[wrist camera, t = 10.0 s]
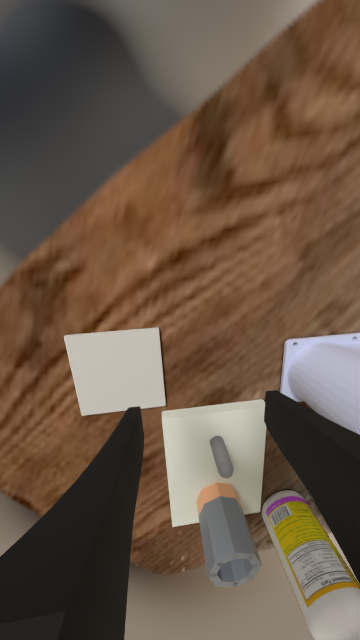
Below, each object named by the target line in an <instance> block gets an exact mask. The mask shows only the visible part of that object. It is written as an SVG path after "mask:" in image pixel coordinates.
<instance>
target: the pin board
mask: <svg viewBox="0 0 360 640" xmlns="http://www.w3.org/2000/svg"><path fill="white" fill-rule="evenodd" d="M264 412H265V402H264V401H263V400H262V399H261V400H252V401H244V402H236V403H227V404H219V405H211V406H202V407H194V408H186V409H177V410H169V411H162V424H163V435H164V445H165V455H166V465H167V475H168V486H169V496H170V506H171V516H172V526H173V527H175V526H181V525H187V524H193V523H199V517H198V510H197V504H196V501H197V499H198V496H199V494H200V492H201V489H203V488H205V487H207V486H210V485H212V484H214V483H216V482H219V483H226V484H231V485H232V486H233V488H234V489H235V491H236V493H237V494H238V497H239V500H240V503H241V506H242V509H243V512H244V515H245V514H251V513H257V512H260V507H261V493H262V480H263V466H264V453H265V439H266V424H265V422H264Z"/></svg>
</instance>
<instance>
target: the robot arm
mask: <svg viewBox="0 0 360 640" xmlns="http://www.w3.org/2000/svg"><path fill="white" fill-rule="evenodd" d="M352 338H353V339H352ZM294 342H295V344H294V345H293V343H294ZM302 401H304V402H305V403H306V404H307V405H309V406H310V407H311V408H312V409H313V410H314V411H315V412H314V411H312V410H311V409H309V408H307V407H305V406H304V405H302V404H300V403H298V402H302ZM264 422H265V424H266V426H267V428H268V430H269V432H270V434H271V436H272V437H273V439H274V441H275V442H276V444H277V445H278V447H279V448H280V450H281V451H282V453H283V454H284V456H285V457H286V459H287V460H288V462H289V463H290V465H291V466H292V468H293V469H294V471H295V472H296V473H297V475H298V476H299V478H300V479H301V481H302V482H303V484H304V485H305V487H306V488H307V490H308V492H309V493H310V495H311V496H312V498H313V500H314V501H315V503H316V505H317V507H318V508H319V510H320V512H321V514H322V515H323V517H324V519H325V521H326V522H327V524H328V526H329V528H330V529H331V531H332V533H333V535H334V537H335V539H336V540H337V542H338V544H339V546H340V548H341V549H342V551H343V553H344V555H345V557H346V559H347V561H348V562H349V564H350V566H351V568H352V570H353V572H354V574H355V576H356V578H357V580H358V581H359V583H360V333H351V334H341V335H330V336H319V337H308V338H298V339H289V340H287V341H286V342H285V344H284V355H283V366H282V377H281V388H280V392H278V391H276V390H275V391H266V398H265V412H264ZM143 448H144V432H143V424H142V417H141V409H140V406H137V407H129V408H128V409H127V410H126V412H125V414H124V415H123V417H122V419H121V420H120V422H119V424H118V425H117V427H116V428H115V430H114V431H113V433H112V434H111V436H110V437H109V439H108V440H107V442H106V443H105V444H104V446H103V447H102V449H101V450H100V451H99V453H98V454H97V455H96V457H95V458H94V459H93V461H92V462H91V463H90V464H89V466H88V467H87V468H86V469H85V471H84V472H83V473H82V474H81V475H80V477H79V478H78V479H77V480H76V481H75V482H74V484H73V485H72V486H71V487H70V488H69V489H68V490H67V491H66V492H65V493H64V495H63V496H62V497H61V498H60V499H59V500H58V501H57V502H56V503H55V504H54V505H53V506H52V507H51V509H50V510H49V511H48V512H47V513H46V514H45V515H44V516H43V517H42V518H41V519H40V520H39V521H38V522H36V523H35V524H34V525H33V526H32V527H31V528H30V529H29V530H28V531H27V532H26V533H25V534H24V535H23V536H22V537H21V538H20V539H19V540H18V541H17V542H16V543H15V544H14V545H13V546H11V547H10V548H9V549H8V550H7V551H6V552H5V553H4V554H3V555H2V556H1V557H0V640H124V633H125V618H126V603H127V590H128V577H129V564H130V552H131V540H132V528H133V520H134V512H135V506H136V499H137V493H138V486H139V480H140V474H141V467H142V460H143Z"/></svg>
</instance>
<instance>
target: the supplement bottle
mask: <svg viewBox="0 0 360 640" xmlns="http://www.w3.org/2000/svg"><path fill="white" fill-rule="evenodd" d="M262 517H263V520H264V523H265V525H266V528H267V530H268V532H269V535H270V537H271V540H272V542H273V544H274V547H275V549H276V551H277V554H278V556H279V559H280V561H281V563H282V566H283V567H284V570H285V573H286V575H287V578H288V580H289V582H290V585H291V587H292V590H293V592H294V594H295V597H296V599H297V602H298V604H299V606H300V609H301V611H302V614H303V616H304V619H305V621H306V623H307V626H308V628H309V630H310V632H311V634H312V636H313V637H314V639H315V640H360V585H359V583H358V582H357V580H356V579H355V577H354V575H353V574H352V572H351V571H350V569H349V568H348V566H347V565H346V563H345V561H344V560H343V558H342V557H341V555H340V554H339V552H338V551H337V549H336V547H335V546H334V544H333V543H332V541H331V540H330V538H329V536H328V535H327V533H326V532H325V530H324V529H323V527H322V526H321V524H320V522H319V521H318V519H317V518H316V516H315V515H314V513H313V512H312V510H311V508H310V507H309V505H308V504H307V502H306V501H305V499H304V498H303V497H302V496H301V495H300V494H299V493H297V492H295V491H292V490H284V491H279V492H277V493H274V494H273V495H271V496H270V497H269V498H268V499H267V500H266V501H265V503H264V504H263V507H262Z"/></svg>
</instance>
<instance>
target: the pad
mask: <svg viewBox="0 0 360 640" xmlns="http://www.w3.org/2000/svg"><path fill="white" fill-rule="evenodd" d="M64 340H65V344H66V349H67V353H68V357H69V362H70V366H71V371H72V375H73V379H74V384H75V388H76V392H77V397H78V401H79V406H80V410H81V414H82V416H84V415H92V414H101V413H109V412H118V411H126V410H127V409H128V408H129V407H137V406H140V409H143V408H152V407H160V406H166V402H165V391H164V379H163V368H162V357H161V346H160V335H159V327H158V328H146V329H133V330H121V331H109V332H97V333H85V334H73V335H65V336H64Z"/></svg>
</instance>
